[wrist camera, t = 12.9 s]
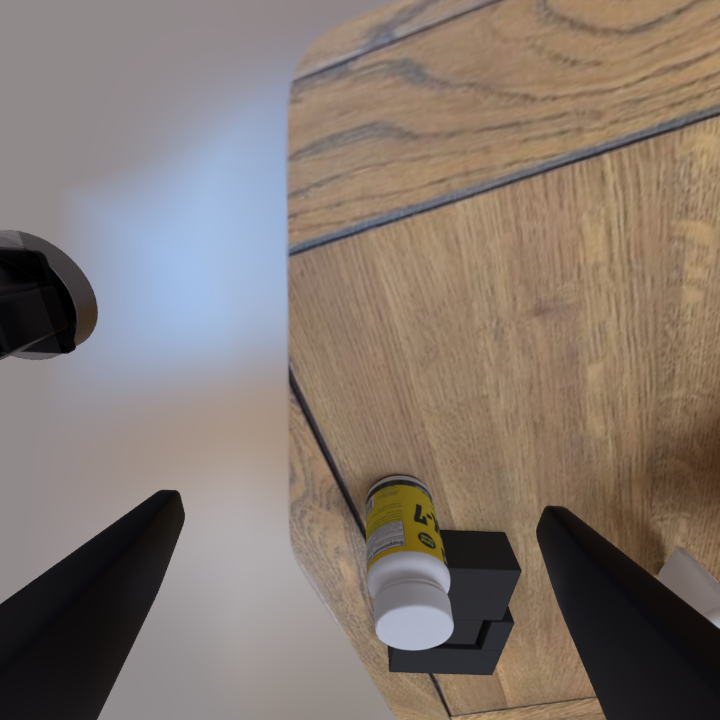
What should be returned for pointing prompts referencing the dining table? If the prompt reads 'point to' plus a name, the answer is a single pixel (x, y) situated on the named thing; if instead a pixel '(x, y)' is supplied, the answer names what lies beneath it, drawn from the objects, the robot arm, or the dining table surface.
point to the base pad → (457, 653)
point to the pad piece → (478, 580)
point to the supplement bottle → (407, 565)
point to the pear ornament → (692, 584)
